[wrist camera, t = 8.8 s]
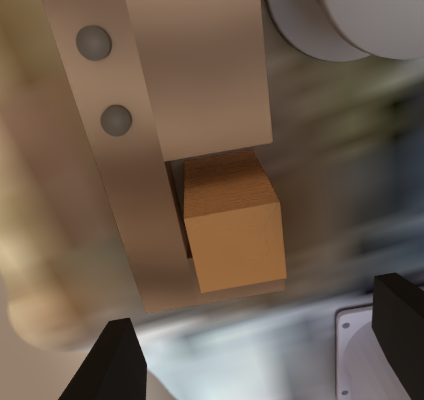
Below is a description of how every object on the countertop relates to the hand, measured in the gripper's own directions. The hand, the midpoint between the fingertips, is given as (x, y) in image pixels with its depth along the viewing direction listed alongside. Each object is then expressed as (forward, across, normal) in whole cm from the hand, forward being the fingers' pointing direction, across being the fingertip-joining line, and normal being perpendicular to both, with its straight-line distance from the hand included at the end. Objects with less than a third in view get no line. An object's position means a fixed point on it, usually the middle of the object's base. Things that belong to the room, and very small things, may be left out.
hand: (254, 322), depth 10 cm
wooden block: (+9, 0, 0) cm, 9 cm away
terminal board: (+9, +2, -2) cm, 10 cm away
